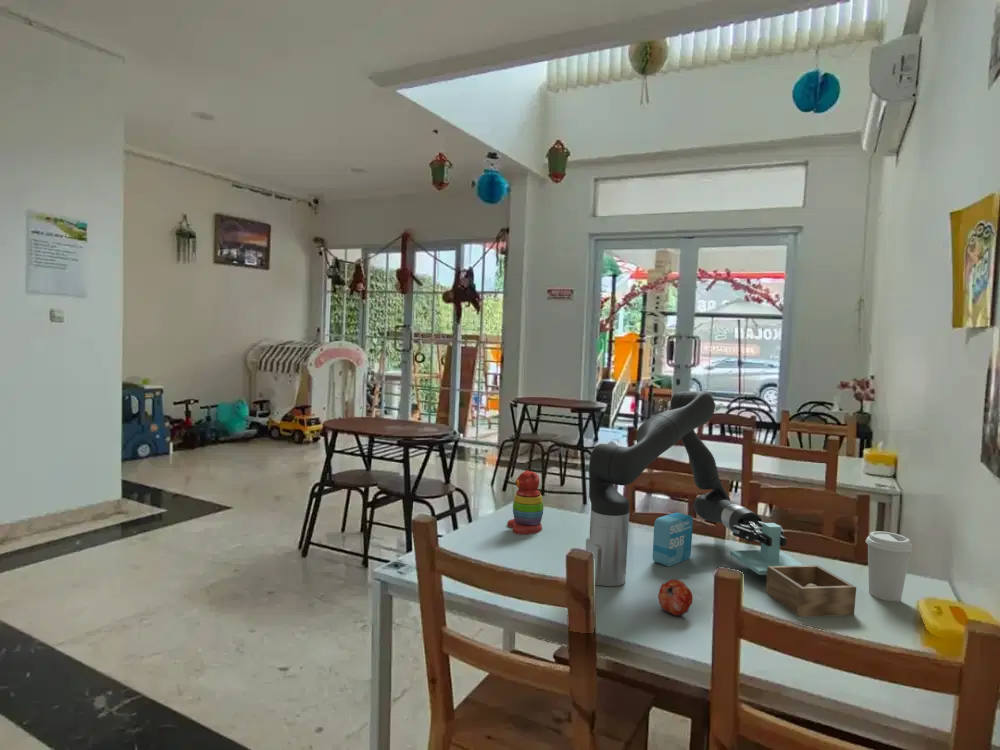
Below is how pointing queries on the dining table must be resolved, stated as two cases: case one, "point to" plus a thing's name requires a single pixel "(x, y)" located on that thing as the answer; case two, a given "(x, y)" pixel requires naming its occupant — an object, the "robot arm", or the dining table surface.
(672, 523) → the data package
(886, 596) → the coffee cup
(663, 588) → the pomegranate
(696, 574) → the dining table surface
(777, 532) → the lid
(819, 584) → the box
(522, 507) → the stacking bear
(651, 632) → the dining table surface
